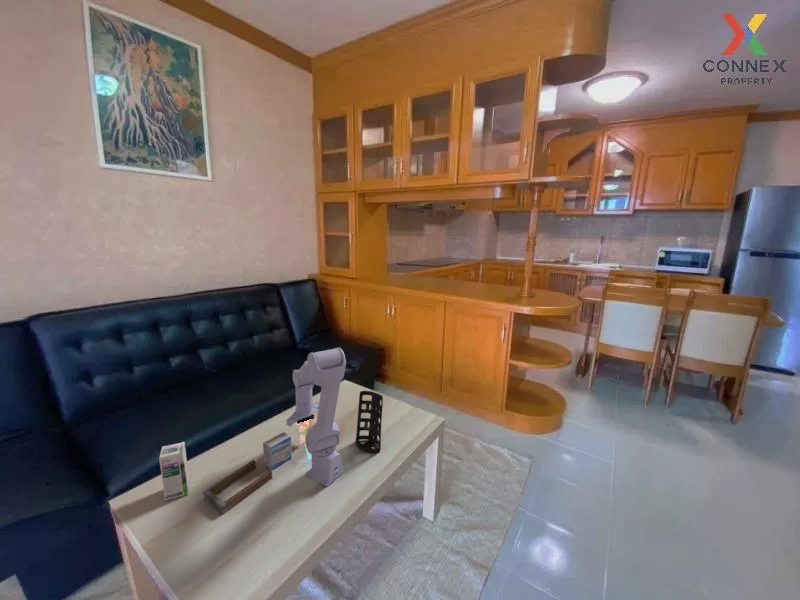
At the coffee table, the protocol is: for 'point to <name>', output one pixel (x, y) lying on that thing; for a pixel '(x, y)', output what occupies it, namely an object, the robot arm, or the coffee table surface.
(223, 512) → the open rail bay
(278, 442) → the medicine box
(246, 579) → the coffee table surface
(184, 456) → the syrup box
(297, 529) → the coffee table surface
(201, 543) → the coffee table surface
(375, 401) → the holder
